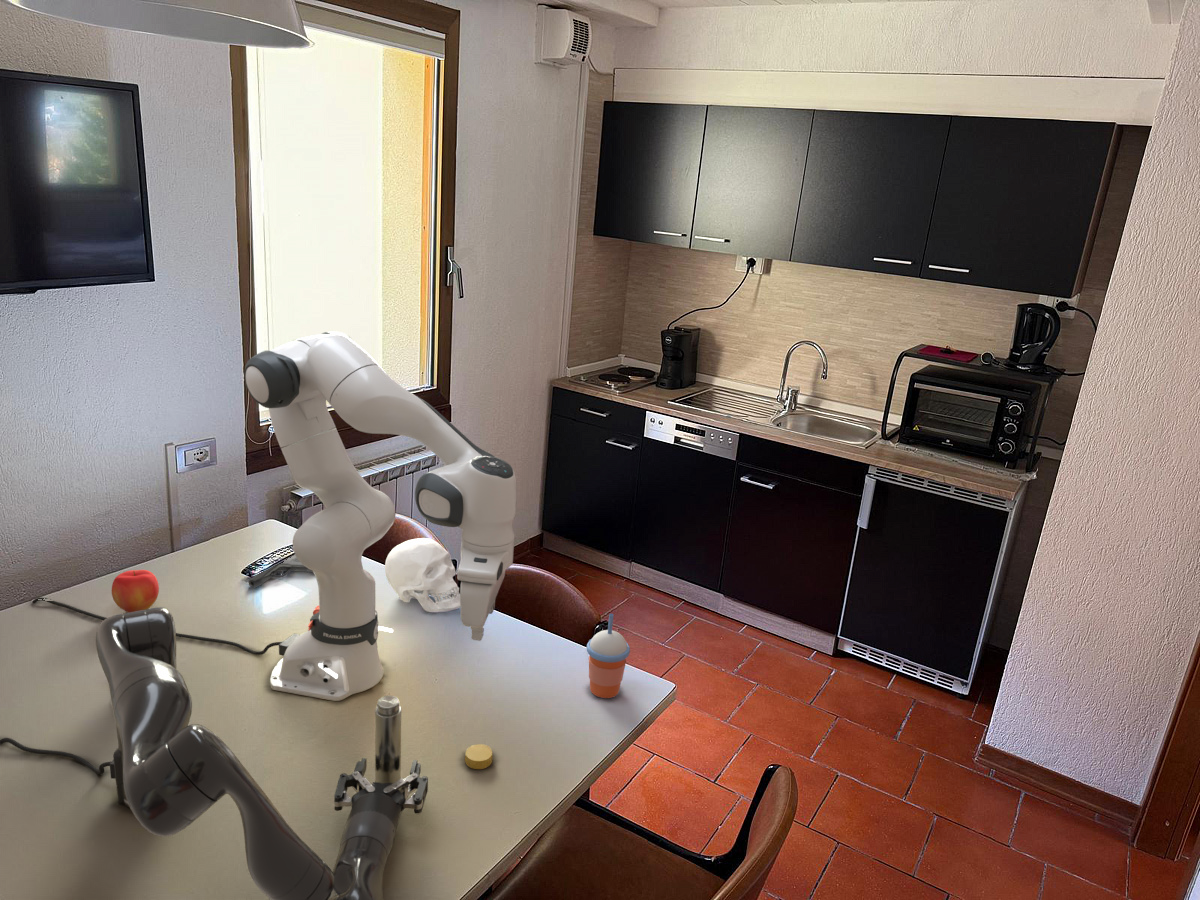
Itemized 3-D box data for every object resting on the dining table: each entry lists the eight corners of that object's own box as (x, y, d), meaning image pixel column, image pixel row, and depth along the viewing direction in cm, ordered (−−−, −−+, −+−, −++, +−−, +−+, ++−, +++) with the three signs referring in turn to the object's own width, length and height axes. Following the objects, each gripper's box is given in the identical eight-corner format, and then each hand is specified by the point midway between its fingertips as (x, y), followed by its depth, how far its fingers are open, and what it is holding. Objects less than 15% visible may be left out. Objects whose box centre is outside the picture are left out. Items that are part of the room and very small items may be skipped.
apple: (163, 615, 196) (160, 576, 193) (116, 624, 191) (112, 584, 188) (157, 598, 204) (154, 559, 201) (111, 606, 199) (107, 567, 196)
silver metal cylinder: (372, 808, 143) (372, 708, 137) (377, 791, 147) (377, 693, 141) (398, 809, 143) (399, 709, 137) (402, 792, 147) (403, 694, 142)
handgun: (292, 594, 211) (247, 586, 213) (325, 565, 228) (283, 558, 229) (291, 586, 211) (246, 578, 212) (325, 557, 227) (283, 550, 229)
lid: (496, 755, 159) (496, 747, 158) (486, 772, 154) (487, 763, 153) (470, 749, 160) (471, 741, 159) (460, 766, 155) (461, 758, 154)
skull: (448, 622, 203) (451, 561, 199) (372, 599, 211) (374, 540, 207) (477, 602, 215) (480, 543, 211) (405, 581, 223) (406, 524, 219)
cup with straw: (621, 706, 176) (629, 628, 171) (578, 698, 178) (585, 621, 173) (629, 682, 185) (636, 608, 180) (588, 675, 186) (594, 601, 181)
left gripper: (417, 813, 129) (432, 746, 144) (321, 810, 128) (346, 742, 143) (416, 854, 131) (431, 783, 146) (322, 851, 130) (347, 780, 145)
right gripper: (481, 526, 154) (478, 595, 158) (454, 575, 135) (451, 652, 139) (516, 530, 154) (511, 599, 158) (494, 580, 135) (489, 657, 139)
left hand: (389, 763), depth 145 cm, fingers open, 8 cm apart
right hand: (483, 624), depth 148 cm, fingers open, 8 cm apart
